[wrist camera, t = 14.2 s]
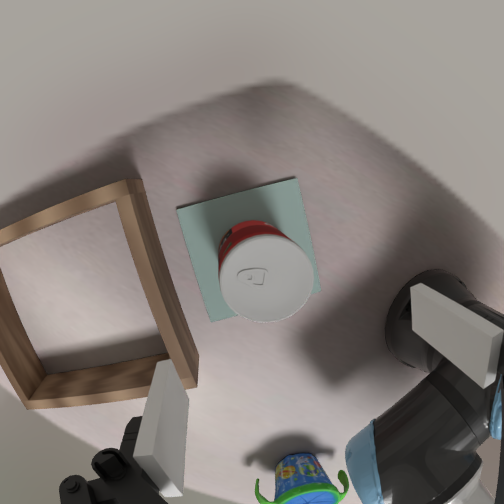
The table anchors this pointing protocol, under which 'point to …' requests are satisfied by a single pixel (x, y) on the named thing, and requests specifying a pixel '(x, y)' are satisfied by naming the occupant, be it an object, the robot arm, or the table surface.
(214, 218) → the mat
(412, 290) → the robot arm
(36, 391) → the frame
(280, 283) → the canned food
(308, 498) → the snack cup
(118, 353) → the table surface
